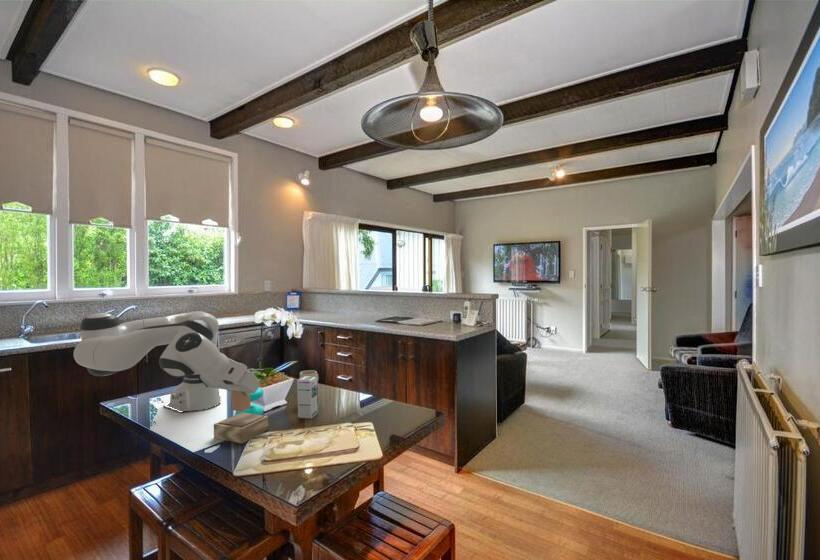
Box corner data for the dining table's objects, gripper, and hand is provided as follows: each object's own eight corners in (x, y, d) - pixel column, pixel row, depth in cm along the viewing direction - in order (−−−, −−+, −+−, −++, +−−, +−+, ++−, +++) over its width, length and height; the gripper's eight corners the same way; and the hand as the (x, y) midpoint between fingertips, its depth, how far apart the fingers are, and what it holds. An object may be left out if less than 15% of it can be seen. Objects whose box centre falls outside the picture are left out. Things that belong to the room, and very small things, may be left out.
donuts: (268, 388, 149) (247, 395, 140) (268, 414, 149) (247, 422, 140) (250, 385, 153) (228, 392, 144) (250, 410, 153) (229, 418, 144)
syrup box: (311, 418, 143) (311, 380, 143) (297, 417, 144) (297, 379, 144) (318, 413, 149) (318, 376, 149) (304, 412, 150) (304, 375, 150)
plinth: (213, 438, 126) (213, 423, 126) (241, 425, 137) (241, 411, 137) (242, 443, 122) (242, 427, 122) (268, 429, 133) (268, 415, 133)
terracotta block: (232, 410, 128) (231, 383, 128) (241, 406, 132) (241, 380, 132) (241, 411, 127) (241, 384, 127) (250, 407, 131) (250, 381, 131)
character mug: (312, 397, 168) (312, 368, 168) (324, 400, 164) (323, 370, 164) (292, 404, 159) (292, 373, 159) (303, 408, 155) (303, 376, 155)
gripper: (188, 376, 122) (214, 398, 132) (238, 382, 115) (261, 405, 124) (200, 360, 127) (224, 382, 136) (249, 364, 119) (271, 387, 129)
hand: (242, 393), depth 130 cm, fingers closed on terracotta block, 4 cm apart
